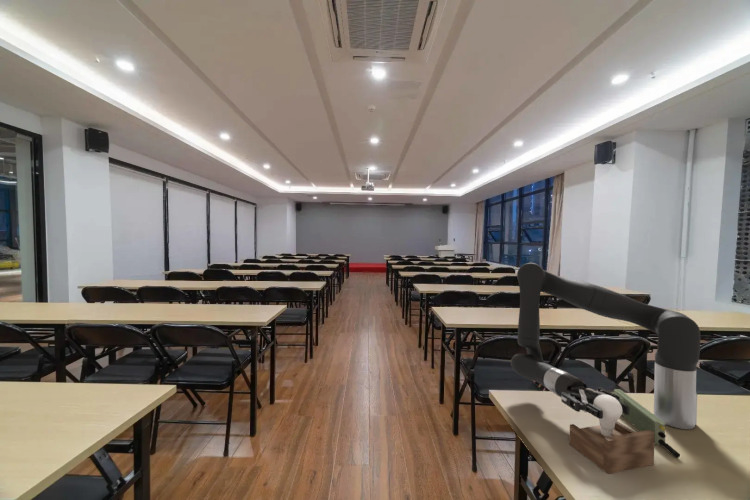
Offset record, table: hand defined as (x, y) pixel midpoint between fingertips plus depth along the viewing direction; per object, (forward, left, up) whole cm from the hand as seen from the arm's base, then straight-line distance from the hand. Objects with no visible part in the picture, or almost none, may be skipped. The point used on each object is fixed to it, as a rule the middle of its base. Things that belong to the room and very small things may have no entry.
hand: (615, 413), depth 81 cm
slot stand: (0, -2, -12) cm, 12 cm away
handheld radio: (-19, -8, -12) cm, 24 cm away
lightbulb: (0, -2, -8) cm, 8 cm away
